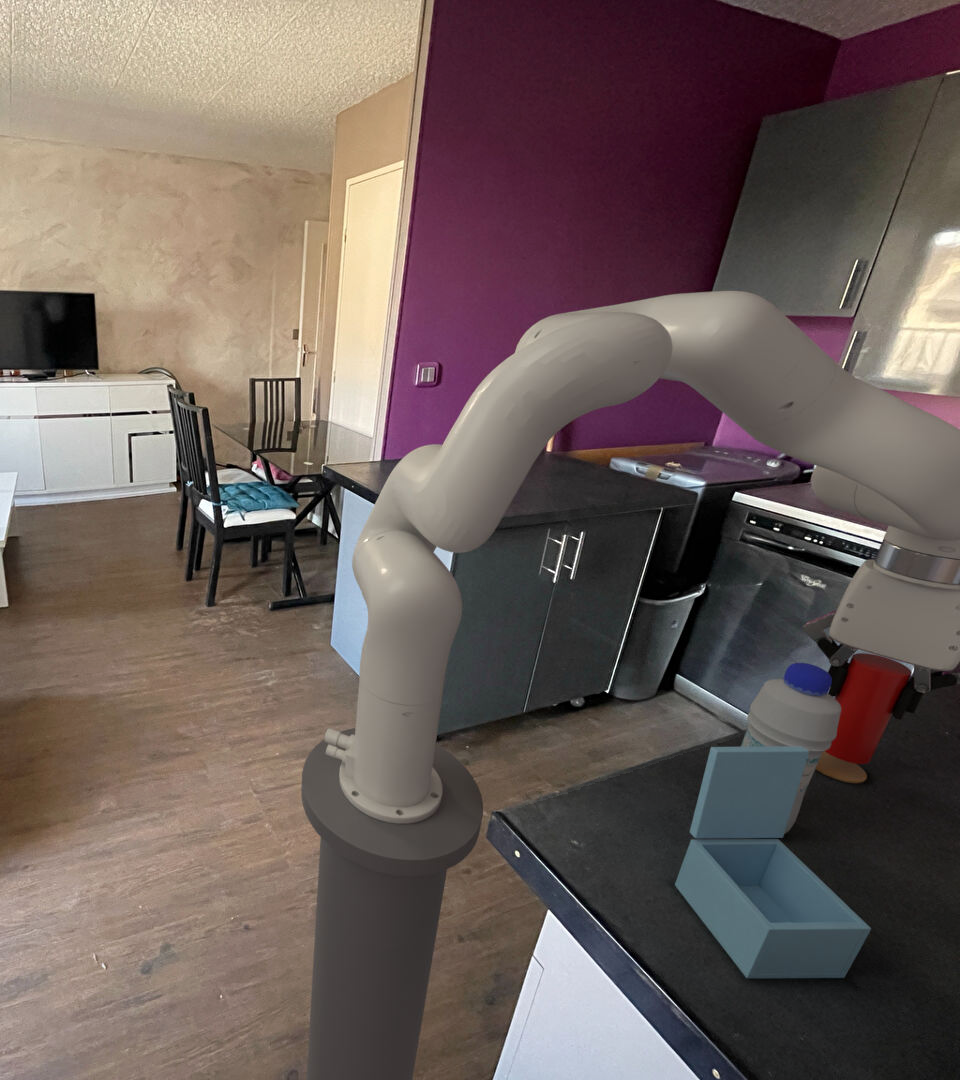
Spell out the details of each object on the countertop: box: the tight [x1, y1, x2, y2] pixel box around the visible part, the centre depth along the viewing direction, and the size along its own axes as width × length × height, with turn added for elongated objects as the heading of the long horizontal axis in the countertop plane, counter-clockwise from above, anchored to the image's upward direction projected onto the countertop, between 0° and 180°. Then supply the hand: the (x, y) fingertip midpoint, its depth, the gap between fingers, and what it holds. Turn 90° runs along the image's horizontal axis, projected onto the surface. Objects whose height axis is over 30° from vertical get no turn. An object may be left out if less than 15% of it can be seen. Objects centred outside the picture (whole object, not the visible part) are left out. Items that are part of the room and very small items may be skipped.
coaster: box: [815, 751, 868, 784], centre depth 73 cm, size 6×6×1 cm
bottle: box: [740, 662, 841, 835], centre depth 62 cm, size 7×7×20 cm
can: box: [825, 652, 913, 765], centre depth 70 cm, size 5×5×12 cm
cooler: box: [674, 838, 872, 979], centre depth 53 cm, size 9×8×6 cm
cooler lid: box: [689, 746, 809, 839], centre depth 54 cm, size 10×8×1 cm
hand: (864, 701), depth 69 cm, fingers closed on can, 4 cm apart
